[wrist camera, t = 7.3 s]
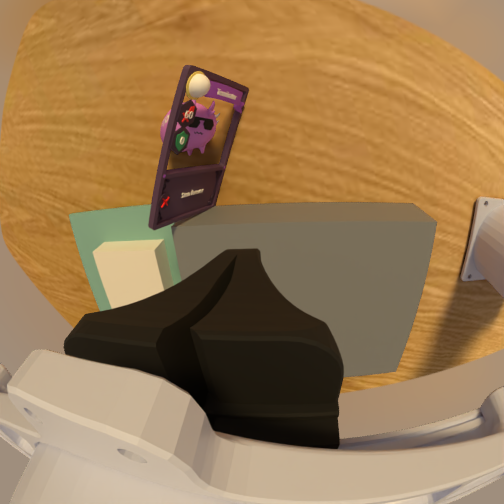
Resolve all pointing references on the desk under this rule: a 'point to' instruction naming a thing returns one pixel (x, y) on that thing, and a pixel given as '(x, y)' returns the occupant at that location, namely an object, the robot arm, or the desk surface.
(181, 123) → the game card
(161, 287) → the beige rectangular block
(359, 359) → the plate
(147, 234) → the mat
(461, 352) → the desk surface
